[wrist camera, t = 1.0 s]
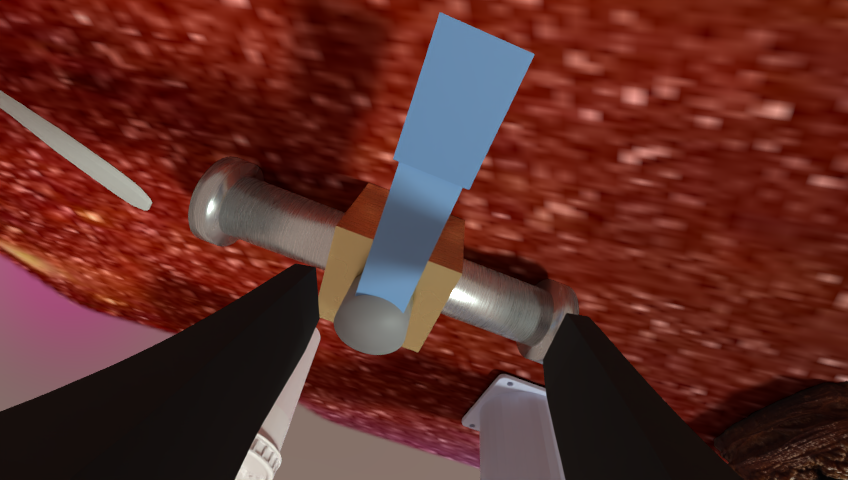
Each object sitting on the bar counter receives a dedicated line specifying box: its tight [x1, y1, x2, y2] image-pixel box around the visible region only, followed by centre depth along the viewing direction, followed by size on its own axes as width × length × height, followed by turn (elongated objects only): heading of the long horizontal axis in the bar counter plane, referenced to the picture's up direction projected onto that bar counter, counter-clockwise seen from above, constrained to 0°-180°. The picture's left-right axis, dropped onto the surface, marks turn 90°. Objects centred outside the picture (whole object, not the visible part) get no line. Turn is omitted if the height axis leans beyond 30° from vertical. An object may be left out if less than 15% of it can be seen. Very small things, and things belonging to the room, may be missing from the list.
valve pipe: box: [188, 157, 579, 364], centre depth 18 cm, size 20×6×5 cm, turn 70°
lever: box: [334, 12, 535, 355], centre depth 12 cm, size 13×3×2 cm, turn 160°
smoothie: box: [235, 328, 320, 480], centre depth 20 cm, size 6×6×14 cm
